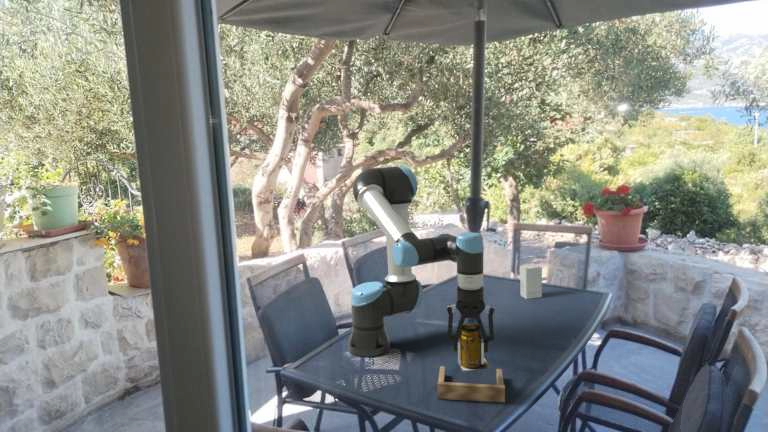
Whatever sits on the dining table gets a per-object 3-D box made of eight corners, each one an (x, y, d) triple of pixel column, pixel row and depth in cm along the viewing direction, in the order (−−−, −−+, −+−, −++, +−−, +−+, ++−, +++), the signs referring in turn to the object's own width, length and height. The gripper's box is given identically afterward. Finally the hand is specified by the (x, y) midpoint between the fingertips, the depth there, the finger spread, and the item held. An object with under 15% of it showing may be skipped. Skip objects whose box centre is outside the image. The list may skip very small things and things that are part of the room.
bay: (437, 398, 143) (437, 384, 143) (440, 375, 158) (440, 361, 157) (504, 402, 140) (504, 387, 140) (501, 378, 154) (501, 364, 154)
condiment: (457, 360, 150) (456, 322, 148) (484, 358, 150) (484, 320, 149) (462, 371, 143) (462, 331, 141) (491, 369, 143) (491, 329, 141)
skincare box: (535, 293, 234) (536, 263, 232) (542, 297, 228) (543, 266, 226) (519, 295, 232) (519, 264, 230) (525, 299, 226) (526, 268, 224)
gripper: (436, 289, 141) (437, 366, 145) (504, 290, 138) (504, 368, 141) (437, 282, 148) (439, 355, 152) (503, 283, 145) (502, 357, 149)
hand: (470, 361), depth 147 cm, fingers closed on condiment, 6 cm apart
